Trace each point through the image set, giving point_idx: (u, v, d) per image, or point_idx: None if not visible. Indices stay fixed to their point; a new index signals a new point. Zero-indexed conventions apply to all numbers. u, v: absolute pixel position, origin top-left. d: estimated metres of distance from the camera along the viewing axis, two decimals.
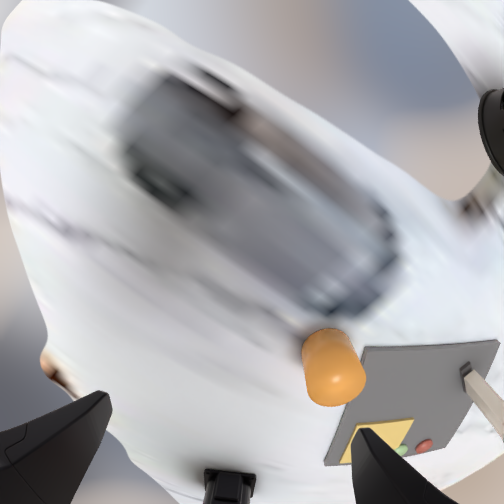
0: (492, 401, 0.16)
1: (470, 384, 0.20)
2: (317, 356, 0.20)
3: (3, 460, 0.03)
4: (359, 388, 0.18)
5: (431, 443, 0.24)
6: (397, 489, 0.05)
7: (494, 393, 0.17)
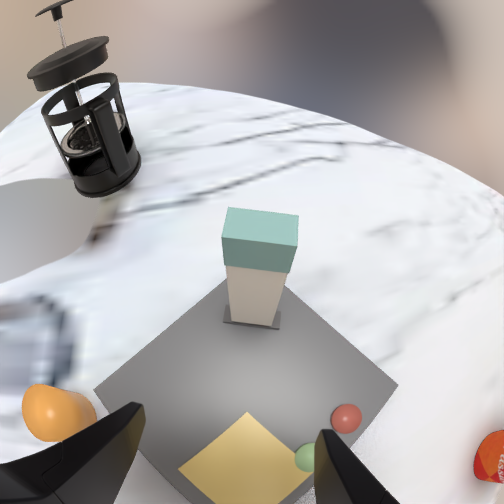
0: None
1: (231, 314, 0.20)
2: None
3: (42, 487, 0.03)
4: (58, 404, 0.14)
5: (348, 406, 0.18)
6: (350, 496, 0.05)
7: None
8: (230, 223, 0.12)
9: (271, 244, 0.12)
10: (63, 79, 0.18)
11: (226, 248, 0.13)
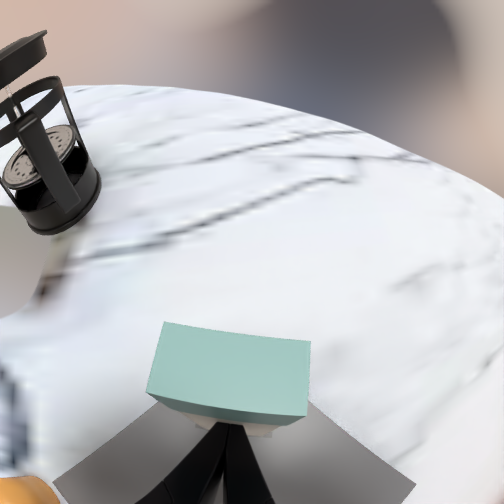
0: None
1: (204, 426, 0.13)
2: None
3: None
4: None
5: None
6: (229, 495, 0.05)
7: None
8: (165, 361, 0.05)
9: (250, 412, 0.05)
10: None
11: (163, 401, 0.05)
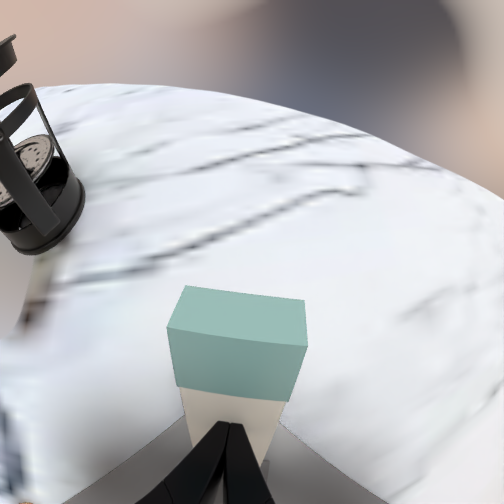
0: None
1: None
2: None
3: None
4: None
5: None
6: (229, 495, 0.05)
7: None
8: (185, 308, 0.07)
9: (258, 344, 0.06)
10: None
11: (177, 352, 0.06)
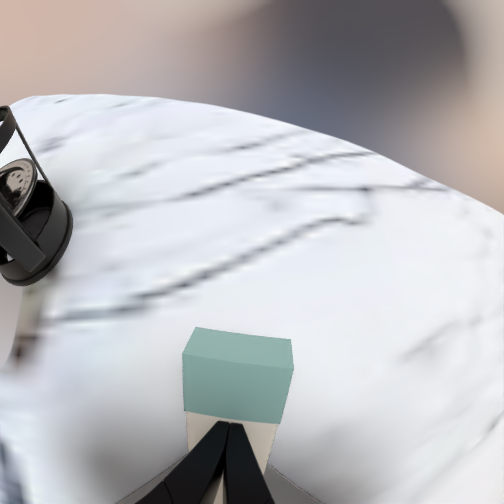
0: None
1: None
2: None
3: None
4: None
5: None
6: (229, 495, 0.05)
7: None
8: (197, 342, 0.08)
9: (255, 367, 0.07)
10: None
11: (188, 377, 0.08)
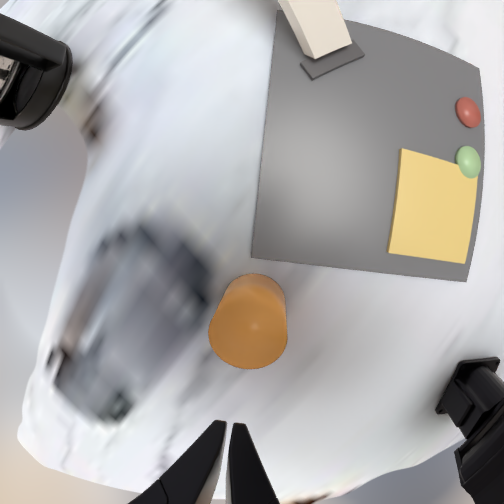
0: None
1: (307, 40, 0.13)
2: None
3: None
4: (257, 308, 0.15)
5: (463, 100, 0.14)
6: (233, 495, 0.05)
7: None
8: None
9: None
10: None
11: None
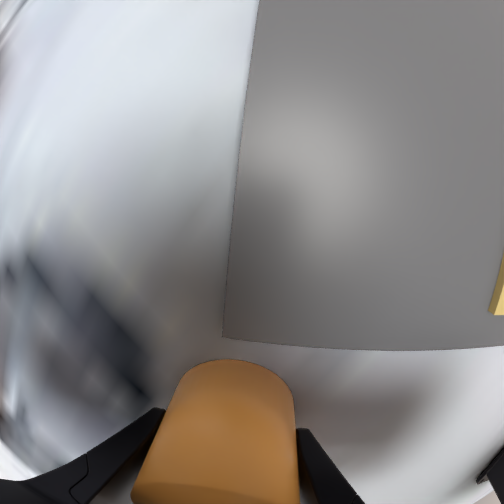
0: None
1: None
2: None
3: (71, 503, 0.03)
4: (231, 497, 0.04)
5: None
6: (318, 498, 0.05)
7: None
8: None
9: None
10: None
11: None
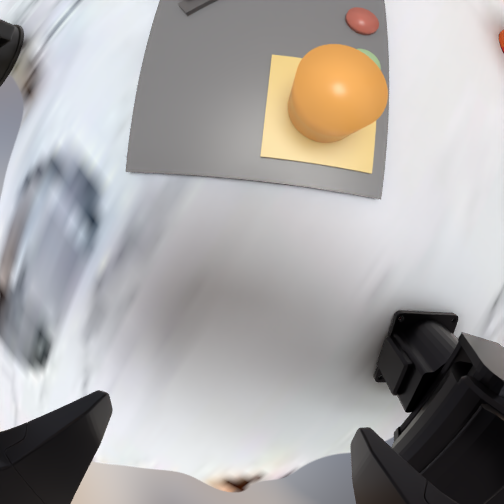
0: None
1: None
2: (302, 114, 0.13)
3: (4, 460, 0.03)
4: (354, 53, 0.10)
5: (354, 9, 0.14)
6: (397, 489, 0.05)
7: None
8: None
9: None
10: None
11: None
